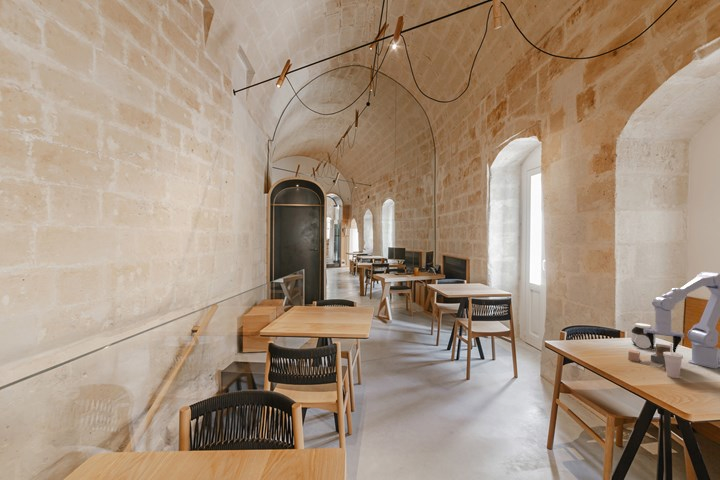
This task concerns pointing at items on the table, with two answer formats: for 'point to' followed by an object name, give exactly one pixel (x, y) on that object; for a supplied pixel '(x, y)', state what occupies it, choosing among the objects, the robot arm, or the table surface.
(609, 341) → the table surface
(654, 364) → the swatch
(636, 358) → the terracotta cube
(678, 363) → the smoothie
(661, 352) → the walnut cube
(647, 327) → the spread jar
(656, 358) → the plinth
